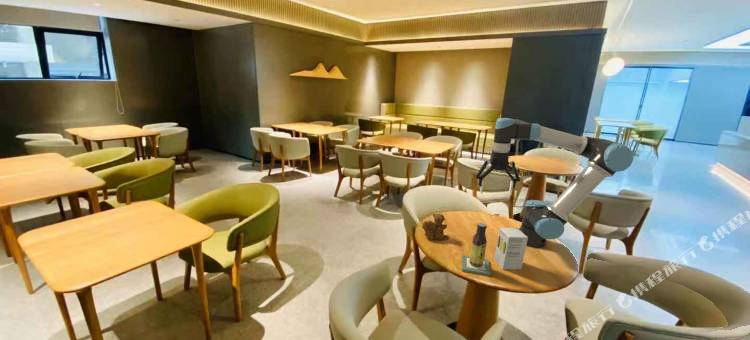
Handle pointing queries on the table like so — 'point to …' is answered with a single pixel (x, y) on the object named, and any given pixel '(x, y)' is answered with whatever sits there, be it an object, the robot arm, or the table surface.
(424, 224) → the stuffed squirrel
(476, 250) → the sauce bottle
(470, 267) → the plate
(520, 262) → the supplement box
